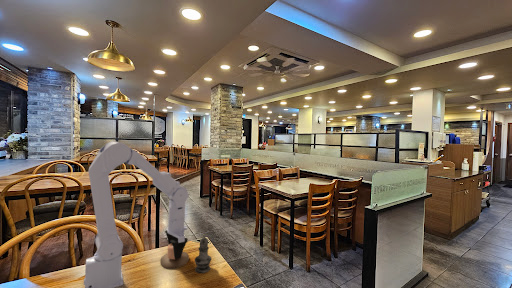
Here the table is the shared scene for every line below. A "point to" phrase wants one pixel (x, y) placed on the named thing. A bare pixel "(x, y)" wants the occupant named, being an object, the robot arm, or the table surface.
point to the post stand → (174, 261)
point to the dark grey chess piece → (203, 257)
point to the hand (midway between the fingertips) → (175, 253)
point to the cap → (171, 252)
